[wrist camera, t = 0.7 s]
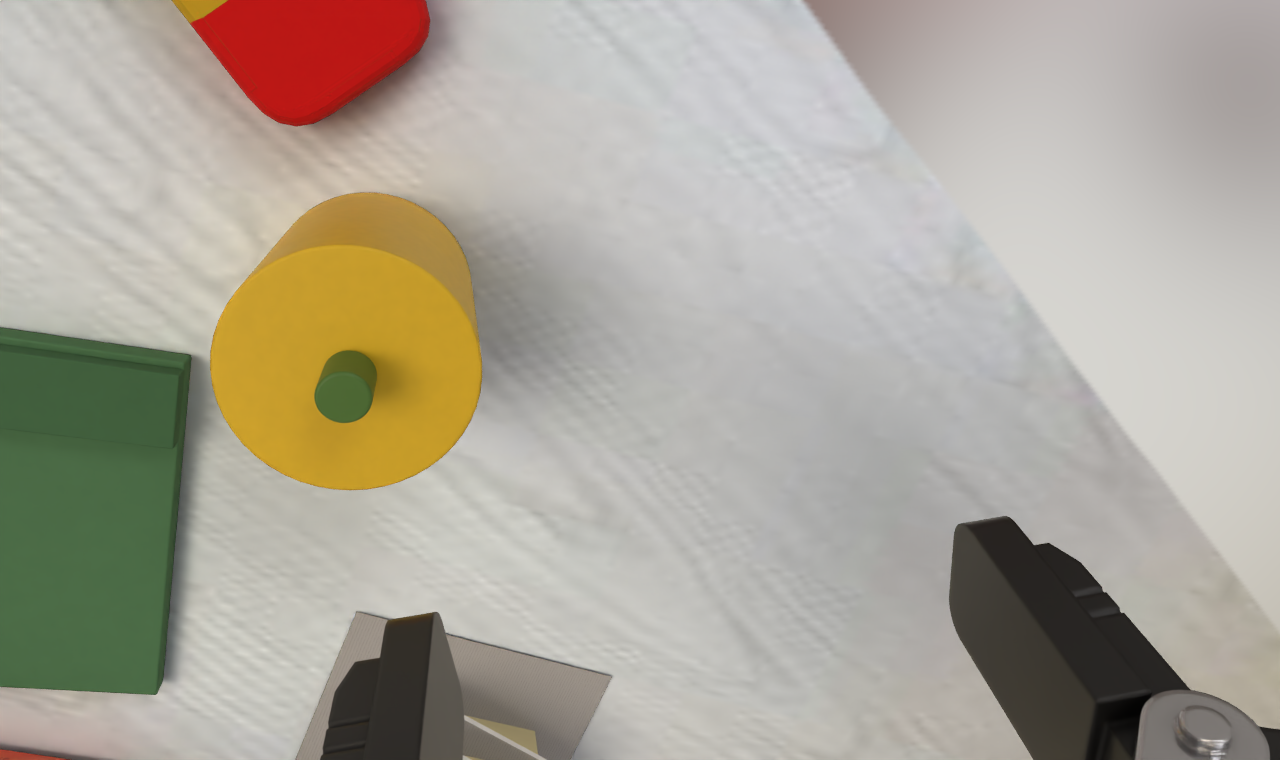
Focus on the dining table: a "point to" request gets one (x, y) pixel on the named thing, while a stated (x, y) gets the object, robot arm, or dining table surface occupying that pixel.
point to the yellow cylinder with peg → (352, 346)
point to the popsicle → (308, 48)
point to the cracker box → (24, 756)
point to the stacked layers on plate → (487, 698)
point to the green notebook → (87, 510)
